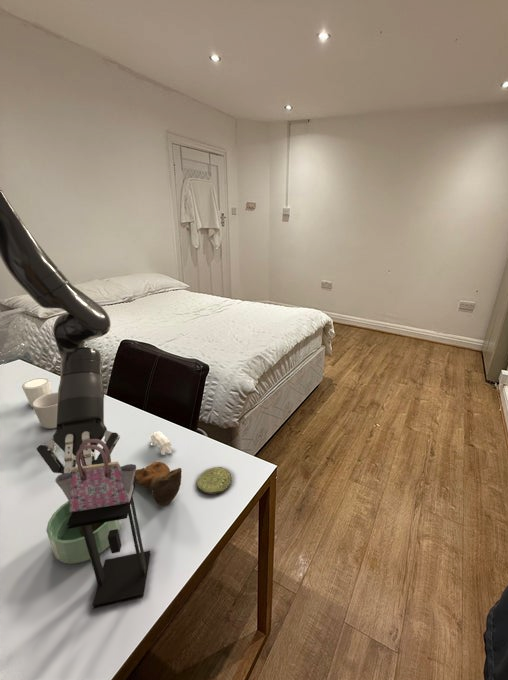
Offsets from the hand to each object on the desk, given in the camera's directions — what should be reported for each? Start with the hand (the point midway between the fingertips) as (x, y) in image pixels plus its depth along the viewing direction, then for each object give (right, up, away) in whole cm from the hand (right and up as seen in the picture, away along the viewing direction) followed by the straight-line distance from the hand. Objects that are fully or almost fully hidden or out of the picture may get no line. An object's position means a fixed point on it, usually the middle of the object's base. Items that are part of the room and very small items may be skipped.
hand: (79, 494), depth 57 cm
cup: (-33, +3, +37) cm, 49 cm away
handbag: (+9, -14, -1) cm, 17 cm away
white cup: (-43, +7, +45) cm, 63 cm away
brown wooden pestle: (-1, -9, +6) cm, 11 cm away
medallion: (+19, -6, +19) cm, 28 cm away
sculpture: (+7, -7, +16) cm, 19 cm away
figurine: (+2, -2, +29) cm, 29 cm away
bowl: (-2, -11, +5) cm, 12 cm away
